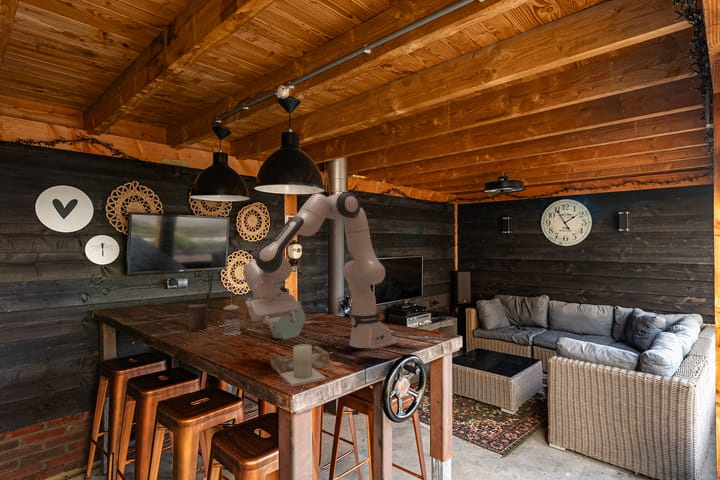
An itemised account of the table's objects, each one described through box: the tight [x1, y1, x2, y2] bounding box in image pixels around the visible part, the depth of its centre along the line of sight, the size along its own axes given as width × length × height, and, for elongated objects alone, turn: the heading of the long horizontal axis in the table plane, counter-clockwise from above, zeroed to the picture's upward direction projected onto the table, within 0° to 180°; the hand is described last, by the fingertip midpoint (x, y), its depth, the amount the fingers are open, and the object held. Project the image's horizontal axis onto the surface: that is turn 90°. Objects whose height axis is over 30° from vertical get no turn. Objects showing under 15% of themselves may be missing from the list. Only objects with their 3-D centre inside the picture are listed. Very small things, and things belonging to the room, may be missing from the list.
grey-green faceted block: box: [269, 300, 307, 341], centre depth 197 cm, size 17×8×21 cm
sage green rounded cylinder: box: [292, 343, 313, 378], centre depth 135 cm, size 6×6×10 cm
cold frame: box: [270, 345, 330, 376], centre depth 148 cm, size 19×12×5 cm, turn 120°
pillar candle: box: [188, 303, 208, 331], centre depth 214 cm, size 10×10×15 cm
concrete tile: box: [280, 368, 326, 388], centre depth 135 cm, size 12×12×1 cm
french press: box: [222, 286, 246, 336], centre depth 205 cm, size 10×12×25 cm
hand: (283, 324), depth 142 cm, fingers open, 8 cm apart
